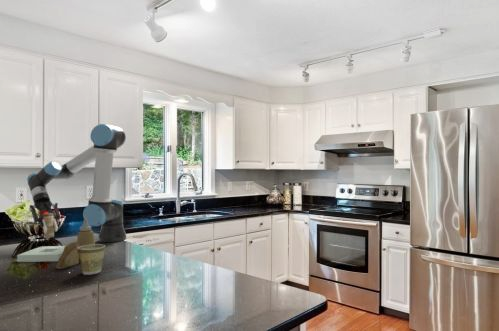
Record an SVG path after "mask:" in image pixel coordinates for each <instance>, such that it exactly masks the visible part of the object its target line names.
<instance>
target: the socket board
mask: <svg viewBox="0 0 499 331" xmlns="http://www.w3.org/2000/svg"><path fill="white" fill-rule="evenodd" d="M65 246H66V245H55V246H54V245H53V246H52V245H51V246H50V245H47V246H45V245H44V246H38V247H36V248H33V249H30V250H28V251H25V252H22V253H20V254H17V255H16V256H17V259H16V261H17V263H30V262H31V263H35V262H37V263H39V262H58V260H59V258H60V257H61V255H62V253H63V251H64V248H65Z"/></svg>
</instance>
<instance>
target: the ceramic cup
mask: <svg viewBox="0 0 499 331" xmlns="http://www.w3.org/2000/svg"><path fill="white" fill-rule="evenodd" d="M77 250H78V255H79V263H80V266H81V267H80V268H81V273H82V274H83V275H89V276H91V275H96V274H99V273H101V272H102V267H103V261H104V256H105V250H106V245H105V244H103V243H102V244H101V243H95V244H91V245H84V246H80V247H78V248H77Z"/></svg>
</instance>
